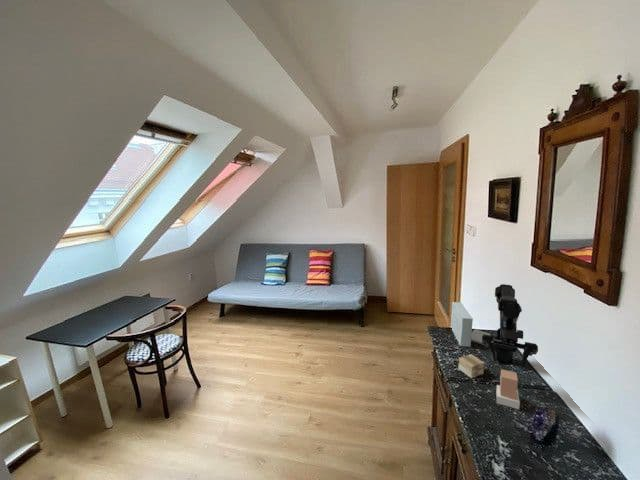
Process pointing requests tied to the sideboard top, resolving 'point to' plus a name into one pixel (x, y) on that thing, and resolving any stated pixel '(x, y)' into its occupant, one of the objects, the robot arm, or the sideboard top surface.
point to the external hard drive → (477, 336)
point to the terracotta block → (508, 384)
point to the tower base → (470, 372)
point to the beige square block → (471, 363)
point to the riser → (507, 399)
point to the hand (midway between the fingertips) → (508, 365)
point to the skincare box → (461, 324)
